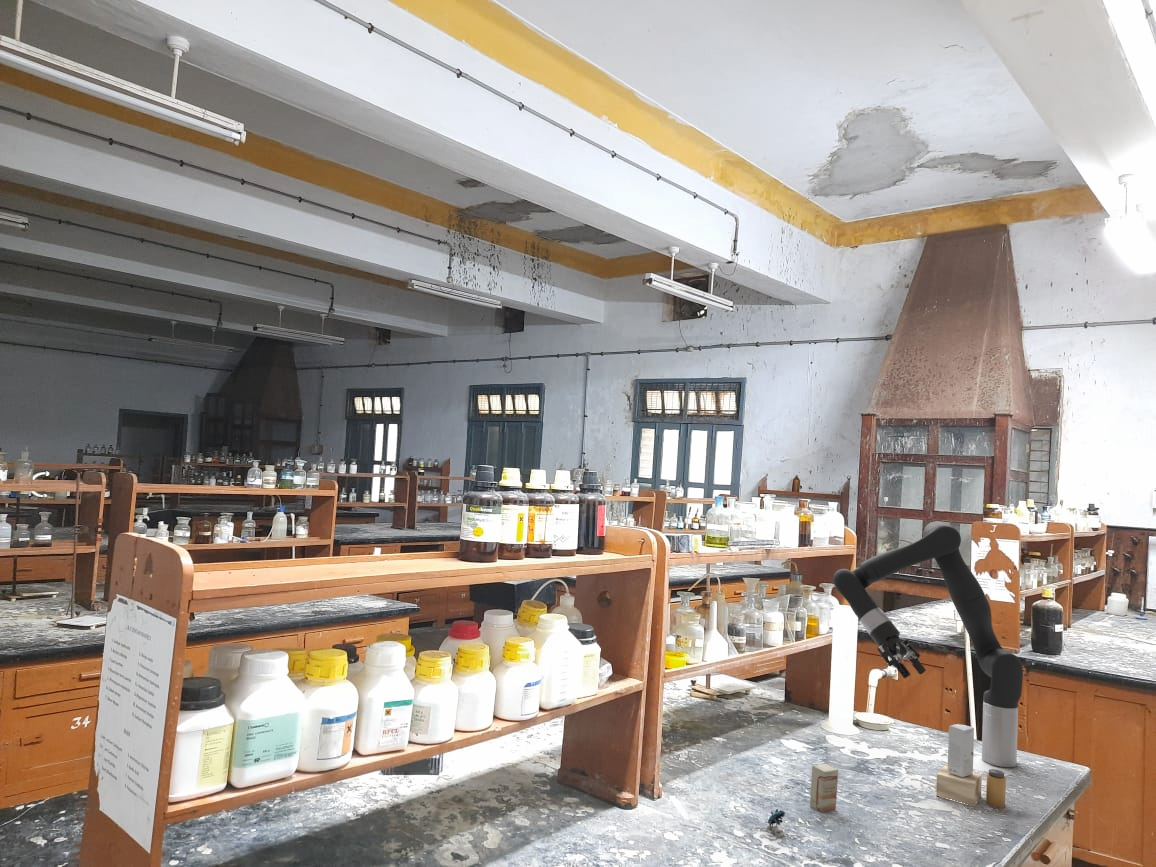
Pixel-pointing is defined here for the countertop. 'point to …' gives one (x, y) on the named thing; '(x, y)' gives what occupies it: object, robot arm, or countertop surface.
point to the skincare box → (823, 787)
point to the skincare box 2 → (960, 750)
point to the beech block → (959, 786)
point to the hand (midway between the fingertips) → (915, 674)
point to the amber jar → (996, 788)
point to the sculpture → (775, 819)
